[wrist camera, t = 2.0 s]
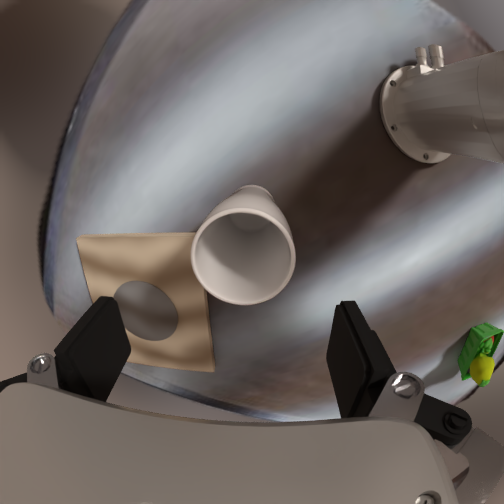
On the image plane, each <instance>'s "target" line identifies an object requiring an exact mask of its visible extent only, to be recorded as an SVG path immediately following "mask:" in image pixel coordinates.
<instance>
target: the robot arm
mask: <svg viewBox="0 0 504 504" xmlns="http://www.w3.org/2000/svg"><path fill="white" fill-rule="evenodd" d="M428 48H429V55H430V59H431V65H432V66H431V67H429V66H428V65H427V55H426V50H425V49H424V48H421V47H417V48H415V52H416V58H417V64H416V66H414V65H413V66H404V67H401V68H399V69H397V70H395V71H393V72H392V73H391V74H390V75H389V76H388V77H387V78H386V80H385V81H384V83H383V86H382V88H381V92H380V99H379V101H380V113H381V118H382V121H383V124H384V127H385V129H386V131H387V133H388V135H389V137H390V138H391V140H392V141H393V143H394V144H395V145H396V146H397V147H398V148H399V149H400V151H401V152H403V153H404V154H405V155H407V156H408V157H410V158H412V159H414V160H416V161H420V162H424V163H438V162H440V161H443V160H445V159H446V158H448V157H449V156H450V155H451V154H456V155H462V156H468V157H473V158H479V159H484V160H489V161H494V162H498V163H503V164H504V50H502V51H498V52H493V53H489V54H486V55H482V56H478V57H474V58H470V59H466V60H463V61H459V62H456V63H452V64H449V65H446V66H444V55H443V49H442V47H441V46H439V45H429V46H428ZM390 84H391V85H390ZM391 126H392V128H393V129H391ZM423 155H424V157H423ZM54 352H55V354H56V356H55V357H53V356H52V355H51V354H48V353H43V354H39V355H37V356H35V357H33V358H32V359H31V360H30V362H29V364H28V367H27V373H24V374H21V375H18V376H15V377H13V378H10V379H7V380H4V381H2V382H0V504H485V502H486V501H487V499H488V498H489V496H490V495H491V493H492V491H493V490H494V488H495V486H496V485H497V483H498V482H499V480H500V478H501V476H502V474H503V473H504V446H502V445H501V444H500V443H498V442H497V441H496V440H494V439H493V438H492V437H490V436H489V435H487V434H486V433H485V432H484V431H482V430H481V429H480V428H478V427H476V428H475V429H474V428H473V427H472V421H471V418H470V416H469V414H468V413H467V412H466V411H464V410H463V409H461V408H458V407H456V406H453V405H451V404H448V403H446V402H443V401H441V400H438V399H436V398H434V397H431V396H429V395H426V394H424V390H425V387H424V383H423V382H422V380H421V379H420V378H419V377H418V376H416V375H414V374H412V373H409V372H398V373H397V372H396V370H395V368H394V366H393V364H392V362H391V360H390V358H389V357H388V355H387V353H386V351H385V349H384V347H383V345H382V343H381V341H380V339H379V337H378V336H377V334H376V332H375V331H374V330H371V329H370V327H369V326H368V324H367V322H366V320H365V318H364V316H363V314H362V313H361V311H360V309H359V307H358V305H357V303H356V302H355V301H341V303H340V305H336V308H335V313H334V319H333V324H332V330H331V335H330V340H329V345H328V349H327V355H326V359H327V364H328V368H329V371H330V375H331V379H332V383H333V387H334V391H335V395H336V399H337V403H338V407H339V411H340V415H341V418H340V419H328V420H315V421H297V422H232V421H217V420H205V419H195V418H186V417H178V416H171V415H165V414H159V413H153V412H147V411H142V410H137V409H132V408H128V407H123V406H118V405H115V404H110V403H107V402H106V400H107V398H108V396H109V394H110V392H111V390H112V388H113V386H114V384H115V382H116V380H117V379H118V377H119V375H120V373H121V371H122V369H123V367H124V365H125V363H126V361H127V359H128V358H129V356H130V354H131V345H130V342H129V339H128V336H127V333H126V330H125V327H124V323H123V320H122V317H121V313H120V310H119V306H118V303H117V301H116V300H114V298H113V297H110V296H100V297H99V298H98V299H97V300H96V301H95V302H94V303H93V305H92V306H91V307H90V308H89V309H88V310H87V311H86V312H85V314H84V315H83V316H82V317H81V318H80V319H79V321H78V322H77V323H76V324H75V325H74V326H73V328H72V329H71V330H70V331H69V332H68V333H67V335H66V336H65V337H64V338H63V340H62V341H61V342H60V343H59V345H58V346H57V347H56V348H55V349H54Z"/></svg>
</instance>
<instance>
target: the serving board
mask: <svg viewBox="0 0 504 504" xmlns="http://www.w3.org/2000/svg"><path fill="white" fill-rule="evenodd" d="M195 234H196V232H192V233H126V234H89V235H81V236H79V237H78V238H76V239H77V244H78V249H79V253H80V258H81V262H82V266H83V270H84V274H85V277H86V281H87V285H88V288H89V292H90V295H91V298H92V301H93V303H94V302H95V301H96V300H97V299H98V298H99V297H100V296H110V297H113V298H114V300H116V301H117V303H118V306H119V310H120V313H121V317H122V320H123V323H124V327H125V330H126V333H127V336H128V339H129V342H130V345H131V354H130V356H129V358H128V359H127V361H126V362H131V363H137V364H143V365H150V366H157V367H164V368H172V369H181V370H191V371H203V372H214V371H215V359H214V351H213V344H212V336H211V327H210V319H209V310H208V300H207V291H206V290H205V289H204V288H203V286H202V285H201V284H200V283H199V281H198V280H197V278H196V276H195V274H194V271H193V269H192V265H191V256H190V253H191V245H192V242H193V239H194V236H195Z"/></svg>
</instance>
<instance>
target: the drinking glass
mask: <svg viewBox="0 0 504 504" xmlns="http://www.w3.org/2000/svg"><path fill="white" fill-rule="evenodd" d="M190 256H191V265H192V269H193V271H194V274H195V276H196V278H197V280H198V281H199V283H200V284H201V285H202V286H203V288H204V289H205V290H207V291H208V292H209V293H210V294H211V295H213V296H214V297H216V298H218V299H220V300H222V301H224V302H227V303H231V304H236V305H253V304H258V303H262V302H264V301H267V300H269V299H271V298H273V297H274V296H276V295H277V294H278V293H279V292H281V291H282V290H283V289H284V288H285V286H286V285H287V284H288V282H289V280H290V279H291V277H292V274H293V271H294V268H295V262H296V254H295V247H294V241H293V236H292V233H291V229H290V227H289V224H288V222H287V220H286V218H285V216H284V214H283V213H282V211H281V210H280V208H279V207H278V206H277V204H276V203H275V201H274V199H273V197H272V195H271V194H270V193H269V192H268V191H267V190H266V189H264V188H262V187H260V186H257V185H246V186H243V187H240V188H239V189H237V190H236V191H235V192H234V193H233V194H232V195H230V196H229V197H227V198H226V199H224V200H223V201H222V202H220V203H219V204H218V205H217V206H215V207H214V208H213V209H212V210H211V212H210V213H209V214H208V215H207V216H206V218H205V219H204V221H203V222H202V224H201V225H200V227H199V229H198V231H197V232H196V234H195V236H194V239H193V242H192V245H191V253H190Z"/></svg>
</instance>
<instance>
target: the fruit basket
mask: <svg viewBox="0 0 504 504" xmlns="http://www.w3.org/2000/svg"><path fill="white" fill-rule="evenodd" d="M503 333H504V331H503V330H501V329H498V328H496V327H494V326H492V325H490V324H488V323H484V324H481V325H478V326H476V327H475V328H474V327H473V328H471V330H470V332H469V336H468V338H467V340H466V342H465V345H464V347H463V349H462V352H461V355H460V356H459V358H458V363H459V367H460V371H461V378H462V381H463V380H466V379H468V378H471V377H472V379H473V380H474V381H475V382H476V383H477V384H478V385H479V386H480V387H484V386H485V385H487V384H488V383H489V381H490V377H491V374H492V372H493V370H494V365H495V363H494V359H493V358H492V356H493V354H494V352H495V350H496V348H497V346H498V344H499V342H500V340H501V337H502V335H503Z"/></svg>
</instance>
